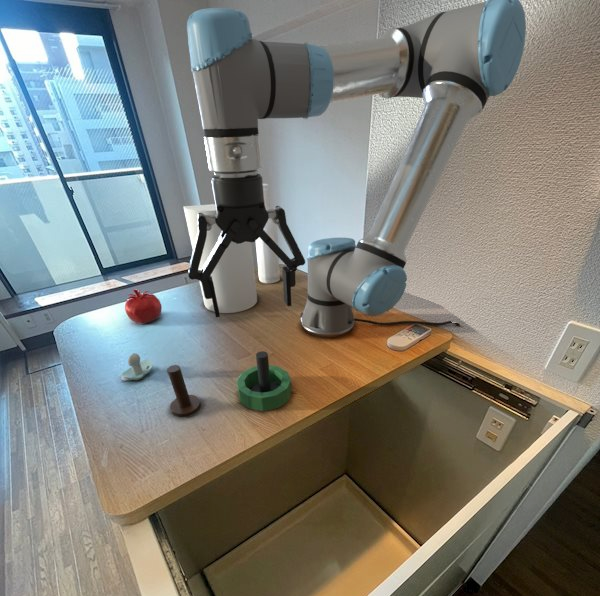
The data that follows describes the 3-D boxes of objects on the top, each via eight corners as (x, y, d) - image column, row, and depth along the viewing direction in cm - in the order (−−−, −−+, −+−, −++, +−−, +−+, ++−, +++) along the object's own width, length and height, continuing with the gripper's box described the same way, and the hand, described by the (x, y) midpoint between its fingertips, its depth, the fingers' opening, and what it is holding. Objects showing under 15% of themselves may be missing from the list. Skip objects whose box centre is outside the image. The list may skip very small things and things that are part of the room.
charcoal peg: (276, 382, 74) (273, 344, 68) (282, 399, 70) (279, 360, 63) (250, 387, 73) (244, 349, 67) (254, 404, 69) (249, 365, 62)
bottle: (281, 276, 124) (276, 182, 105) (278, 284, 118) (273, 186, 99) (261, 275, 125) (252, 182, 105) (257, 283, 119) (247, 186, 99)
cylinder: (262, 308, 103) (252, 207, 85) (206, 316, 99) (184, 212, 81) (252, 288, 116) (242, 196, 97) (202, 294, 112) (182, 200, 94)
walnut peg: (200, 396, 71) (189, 357, 64) (201, 414, 67) (189, 374, 60) (171, 401, 70) (157, 362, 63) (170, 419, 65) (155, 380, 59)
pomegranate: (170, 317, 99) (162, 287, 93) (140, 330, 94) (129, 299, 87) (153, 308, 104) (143, 279, 98) (123, 319, 98) (111, 289, 92)
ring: (284, 374, 77) (283, 361, 74) (296, 404, 68) (296, 391, 66) (236, 382, 74) (234, 369, 72) (243, 415, 66) (241, 401, 64)
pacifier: (116, 381, 76) (135, 387, 73) (104, 358, 72) (124, 364, 69) (140, 364, 81) (158, 369, 78) (130, 342, 77) (149, 347, 74)
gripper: (145, 183, 43) (186, 328, 57) (324, 171, 48) (321, 307, 62) (148, 176, 48) (185, 309, 62) (309, 165, 53) (309, 291, 67)
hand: (253, 308), depth 62 cm, fingers open, 13 cm apart
